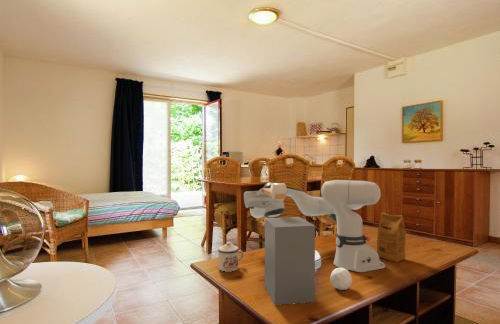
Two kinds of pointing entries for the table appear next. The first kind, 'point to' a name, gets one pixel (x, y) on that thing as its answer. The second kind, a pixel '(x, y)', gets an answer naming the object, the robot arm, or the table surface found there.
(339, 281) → the geometric ball
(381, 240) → the coffee package
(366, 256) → the robot arm
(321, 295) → the table surface
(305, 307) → the table surface
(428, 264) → the table surface
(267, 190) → the wooden handled brush
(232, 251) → the teacup with lid
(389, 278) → the table surface
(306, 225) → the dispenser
